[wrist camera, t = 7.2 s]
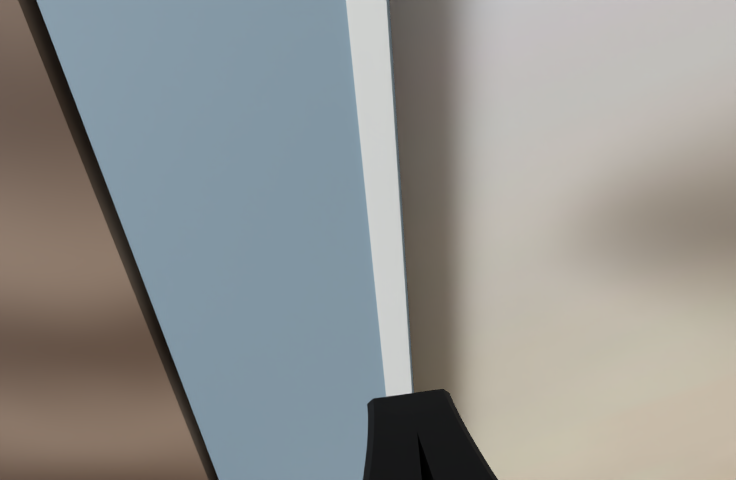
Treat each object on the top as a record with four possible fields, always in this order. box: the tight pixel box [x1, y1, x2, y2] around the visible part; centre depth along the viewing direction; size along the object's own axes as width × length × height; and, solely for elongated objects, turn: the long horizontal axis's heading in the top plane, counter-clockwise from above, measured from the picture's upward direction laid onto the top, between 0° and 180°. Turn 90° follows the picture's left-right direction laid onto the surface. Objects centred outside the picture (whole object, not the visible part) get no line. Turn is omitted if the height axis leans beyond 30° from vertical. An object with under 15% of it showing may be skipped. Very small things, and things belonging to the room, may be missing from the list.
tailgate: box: [37, 0, 414, 480], centre depth 14 cm, size 20×1×6 cm
